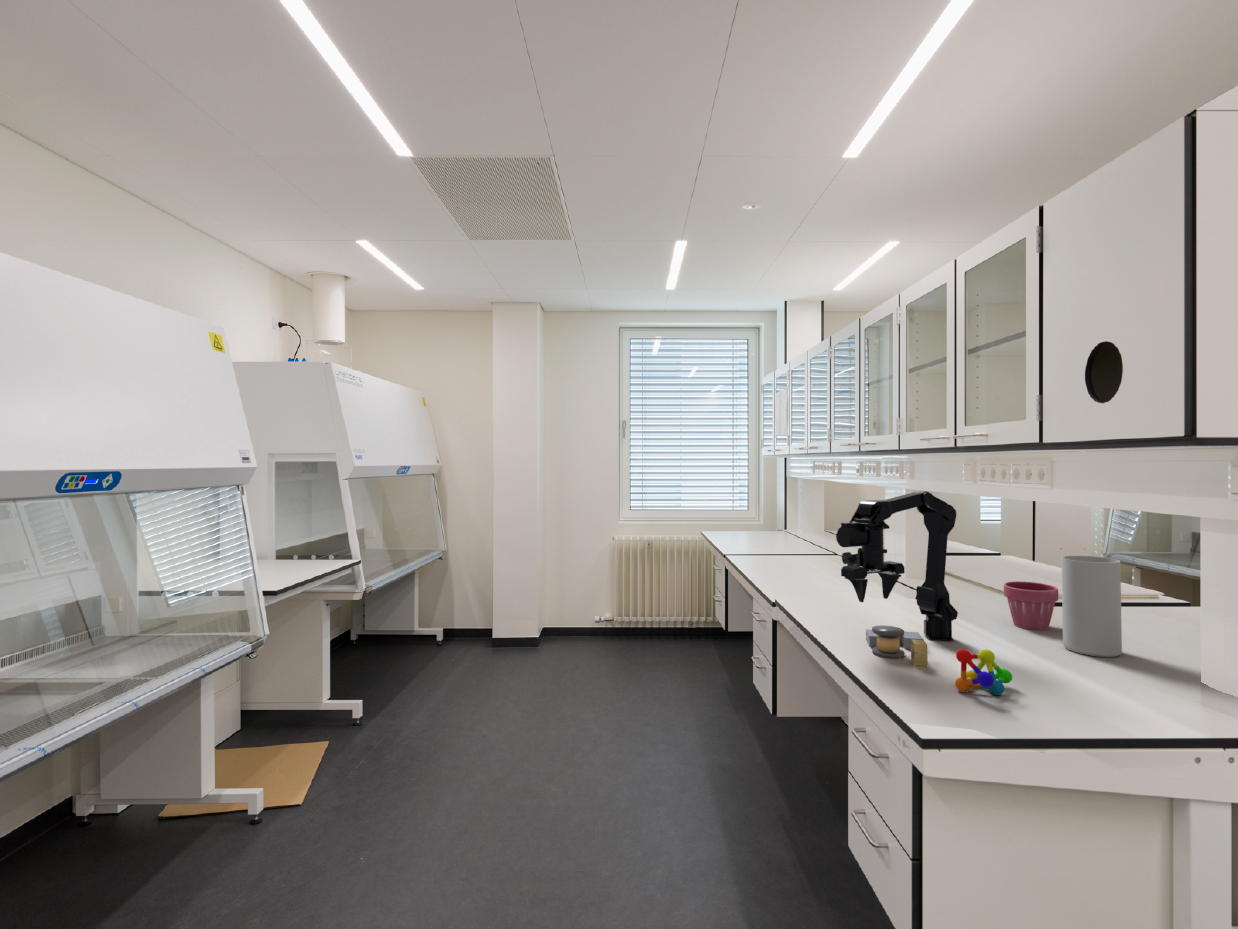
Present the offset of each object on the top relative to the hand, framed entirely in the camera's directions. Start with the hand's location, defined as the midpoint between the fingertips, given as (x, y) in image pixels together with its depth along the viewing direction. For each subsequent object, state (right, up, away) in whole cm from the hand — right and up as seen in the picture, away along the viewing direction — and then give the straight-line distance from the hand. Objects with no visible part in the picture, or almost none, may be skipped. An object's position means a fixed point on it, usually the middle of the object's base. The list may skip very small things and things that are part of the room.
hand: (873, 600), depth 166 cm
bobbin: (+1, -13, -6) cm, 15 cm away
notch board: (+7, -13, +2) cm, 15 cm away
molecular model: (+11, -13, -32) cm, 37 cm away
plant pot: (+58, -13, +19) cm, 62 cm away
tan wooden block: (+5, -13, -15) cm, 21 cm away
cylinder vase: (+57, -13, -6) cm, 59 cm away
